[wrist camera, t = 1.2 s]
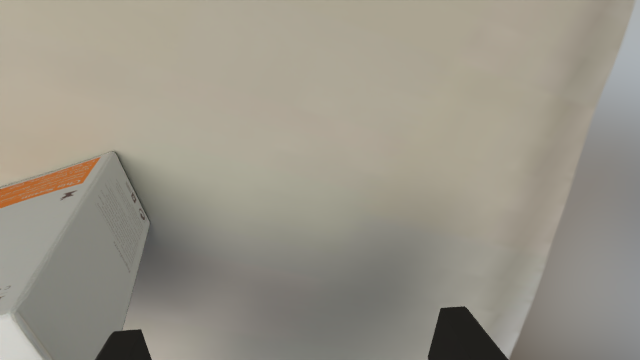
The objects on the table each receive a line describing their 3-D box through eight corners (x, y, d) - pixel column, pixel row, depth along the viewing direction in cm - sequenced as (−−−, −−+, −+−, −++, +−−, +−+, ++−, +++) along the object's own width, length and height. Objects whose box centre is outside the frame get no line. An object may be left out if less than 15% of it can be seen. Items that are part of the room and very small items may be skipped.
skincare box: (114, 146, 21) (18, 308, 10) (152, 222, 22) (106, 430, 12) (-20, 189, 20) (-280, 414, 9) (30, 264, 22) (-139, 525, 11)
